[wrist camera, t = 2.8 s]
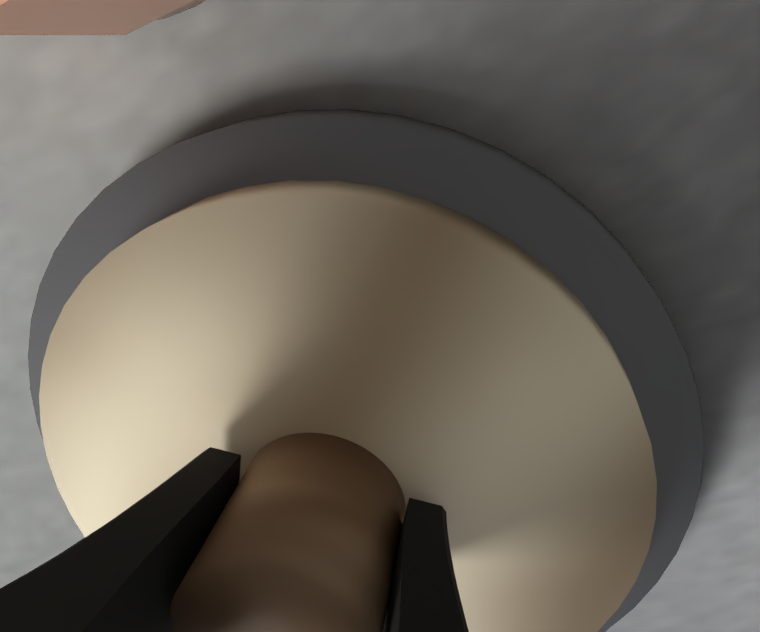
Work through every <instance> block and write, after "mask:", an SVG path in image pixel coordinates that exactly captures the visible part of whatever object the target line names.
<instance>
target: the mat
mask: <svg viewBox="0 0 760 632" xmlns="http://www.w3.org/2000/svg"><path fill="white" fill-rule="evenodd" d="M288 180H336V181H343V182H351V183H358V184H365V185H372V186H380V187H384V188H388V189H392V190H395V191H399V192H403V193H406V194H410V195H414V196H417V197H421V198H424V199H428V200H430V201H433V202H435V203H438V204H440V205H442V206H445V207H447V208H450V209H452V210H454V211H457V212H459V213H462V214H464V215H466V216H469V217H471V218H473V219H475V220H477V221H478V222H480V223H482V224H484V225H485V226H487V227H489V228H490V229H492V230H494V231H496V232H497V233H499V234H501V235H502V236H504V237H506V238H508V239H509V240H511V241H513V242H514V243H516V244H517V245H518V246H520V247H521V248H522V249H523V250H525V251H526V252H527V253H529V254H530V255H531V256H532V257H534V258H535V259H536V260H538V261H539V262H540V263H542V264H543V265H544V266H545V267H547V268H548V269H549V270H551V271H552V272H553V273H554V274H555V275H556V276H557V277H558V279H559V280H560V281H561V282H562V283H563V284H564V285H565V286H566V287H567V288H568V289H569V290H570V291H571V292H572V293H573V294H574V295H575V296H576V297H577V298H578V299H579V300H580V301H581V302H582V303H583V304H584V306H585V307H586V309H587V310H588V311H589V313H590V314H591V315H592V317H593V318H594V319H595V321H596V322H597V324H598V325H599V326H600V328H601V329H602V330H603V332H604V333H605V334H606V336H607V337H608V339H609V341H610V343H611V345H612V347H613V349H614V350H615V352H616V354H617V356H618V358H619V360H620V362H621V364H622V366H623V368H624V370H625V372H626V374H627V376H628V379H629V382H630V384H631V387H632V390H633V392H634V395H635V398H636V400H637V403H638V406H639V409H640V412H641V415H642V418H643V421H644V424H645V427H646V430H647V433H648V436H649V439H650V442H651V446H652V452H653V459H654V466H655V472H656V479H657V496H656V519H655V524H654V528H653V533H652V538H651V542H650V547H649V551H648V554H647V556H646V558H645V561H644V563H643V566H642V568H641V570H640V573H639V575H638V578H637V580H636V582H635V584H634V585H633V587H632V588H631V590H630V591H629V593H628V594H627V596H626V598H625V599H624V601H623V602H622V604H621V605H620V607H619V608H618V609H617V611H616V612H615V613H614V614H613V615H612V616H611V617H610V618H609V619H608V621H607V622H606V623H605V624H604V625H603V626H602V627H601V628H600V630H599V631H598V632H605V631H606V630H607V629H609V628H610V627H611V626H612V625H614V624H615V623H616V622H617V621H619V620H620V619H621V618H622V617H623V616H625V615H626V614H627V613H628V612H630V611H631V610H632V609H633V608H634V607H635V606H636V605H637V604H638V603H639V602H640V601H641V599H642V598H643V597H644V596H645V595H646V594H647V593H648V592H649V591H650V590H651V589H652V587H653V586H654V585H655V584H656V583H657V582H658V580H659V579H660V577H661V576H662V574H663V573H664V571H665V570H666V568H667V567H668V565H669V564H670V562H671V561H672V559H673V558H674V556H675V555H676V553H677V551H678V549H679V547H680V544H681V542H682V540H683V538H684V535H685V533H686V531H687V529H688V526H689V524H690V522H691V520H692V516H693V512H694V508H695V504H696V500H697V496H698V492H699V488H700V484H701V478H702V463H703V448H704V436H703V427H702V418H701V409H700V400H699V395H698V392H697V388H696V385H695V381H694V378H693V374H692V371H691V367H690V364H689V360H688V357H687V354H686V352H685V349H684V347H683V345H682V343H681V341H680V339H679V337H678V335H677V333H676V331H675V329H674V327H673V325H672V322H671V320H670V318H669V316H668V314H667V312H666V310H665V308H664V307H663V305H662V303H661V302H660V300H659V298H658V297H657V295H656V293H655V292H654V290H653V288H652V287H651V285H650V284H649V282H648V281H647V279H646V278H645V276H644V275H643V274H642V272H641V271H640V269H639V268H638V266H637V265H636V263H635V262H634V260H633V259H632V258H631V256H630V255H629V253H628V252H627V250H626V249H625V247H624V246H623V245H622V244H621V243H620V242H619V241H618V240H617V239H616V238H615V237H614V236H613V235H612V234H611V232H610V231H609V230H608V229H607V228H606V227H605V226H604V225H603V224H602V223H601V222H600V221H599V220H598V219H597V218H596V216H595V215H594V214H593V213H592V212H591V211H590V210H589V209H587V208H586V207H585V206H584V205H582V204H581V203H580V202H579V201H577V200H576V199H575V198H574V197H572V196H571V195H570V194H569V193H567V192H566V191H565V190H564V189H562V188H561V187H560V186H559V185H557V184H556V183H555V182H554V181H552V180H551V179H550V178H548V177H547V176H545V175H543V174H542V173H540V172H538V171H537V170H535V169H533V168H532V167H530V166H528V165H526V164H525V163H523V162H521V161H520V160H518V159H516V158H515V157H513V156H511V155H510V154H508V153H506V152H504V151H503V150H500V149H498V148H496V147H493V146H491V145H488V144H486V143H484V142H481V141H479V140H476V139H474V138H472V137H469V136H467V135H464V134H462V133H460V132H457V131H455V130H452V129H448V128H445V127H441V126H437V125H433V124H430V123H426V122H422V121H418V120H414V119H411V118H407V117H403V116H397V115H389V114H381V113H373V112H365V111H356V110H302V111H293V112H287V113H281V114H275V115H269V116H263V117H257V118H251V119H247V120H244V121H241V122H238V123H235V124H232V125H229V126H226V127H223V128H220V129H217V130H214V131H211V132H207V133H204V134H202V135H199V136H196V137H193V138H190V139H187V140H184V141H181V142H179V143H177V144H175V145H173V146H171V147H169V148H167V149H165V150H163V151H161V152H159V153H157V154H155V155H153V156H151V157H150V158H148V159H146V160H144V161H142V162H140V163H138V164H137V165H136V166H134V167H133V168H132V169H130V170H129V171H127V172H126V173H125V174H123V175H122V176H121V177H119V178H118V179H117V180H115V181H114V182H113V183H111V184H110V185H109V186H107V187H106V188H105V189H104V190H103V191H102V192H101V193H100V194H99V195H98V196H97V197H96V198H95V199H94V200H93V201H92V202H91V203H90V204H89V205H88V206H87V208H86V209H85V210H84V211H83V212H82V213H81V214H80V215H79V216H78V217H77V218H76V219H75V221H74V222H73V224H72V225H71V227H70V228H69V230H68V231H67V233H66V235H65V236H64V238H63V239H62V241H61V242H60V244H59V245H58V247H57V248H56V250H55V251H54V254H53V256H52V258H51V260H50V263H49V265H48V267H47V270H46V272H45V274H44V276H43V279H42V281H41V283H40V286H39V290H38V294H37V298H36V302H35V306H34V310H33V314H32V318H31V327H30V339H29V350H28V361H29V376H30V390H31V395H32V400H33V405H34V409H35V414H36V419H37V424H38V427H39V429H40V432H41V435H42V431H41V423H40V405H39V391H40V381H41V371H42V364H43V360H44V356H45V353H46V349H47V345H48V342H49V338H50V335H51V332H52V330H53V328H54V326H55V324H56V322H57V320H58V318H59V315H60V313H61V311H62V309H63V307H64V305H65V304H66V302H67V301H68V299H69V298H70V297H71V295H72V294H73V292H74V291H75V290H76V288H77V287H78V285H79V284H80V283H81V281H82V280H83V278H84V277H85V276H86V275H87V274H88V273H89V272H90V271H91V270H92V269H93V268H94V267H95V266H96V265H97V264H99V263H100V262H101V261H102V260H103V259H104V258H105V257H106V256H107V255H108V254H109V253H110V252H111V251H113V250H114V249H116V248H117V247H118V246H120V245H121V244H123V243H124V242H126V241H127V240H129V239H130V238H132V237H133V236H135V235H136V234H137V233H139V232H140V231H142V230H144V229H145V228H147V227H149V226H151V225H153V224H155V223H156V222H158V221H160V220H162V219H164V218H165V217H167V216H169V215H171V214H173V213H175V212H177V211H179V210H181V209H184V208H186V207H188V206H190V205H192V204H194V203H196V202H199V201H201V200H203V199H205V198H207V197H211V196H214V195H218V194H221V193H225V192H228V191H231V190H235V189H238V188H242V187H245V186H251V185H258V184H266V183H273V182H280V181H288ZM42 438H43V436H42Z"/></svg>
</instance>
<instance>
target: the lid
mask: <svg viewBox="0 0 760 632" xmlns="http://www.w3.org/2000/svg"><path fill="white" fill-rule="evenodd" d="M39 405H40V423H41V431H42V436H43V441H44V445H45V450H46V455H47V459H48V462H49V465H50V468H51V471H52V473H53V476H54V479H55V482H56V485H57V487H58V490H59V492H60V494H61V496H62V498H63V500H64V502H65V504H66V506H67V508H68V510H69V512H70V514H71V516H72V517H73V519H74V521H75V522H76V524H77V525H78V527H79V528H80V530H81V532H82V533H83V535H84V536H85V537H87V536H88V535H90V534H91V533H93V532H94V531H96V530H97V529H99V528H100V527H102V526H103V525H105V524H106V523H108V522H109V521H111V520H112V519H114V518H115V517H116V516H118V515H119V514H121V513H122V512H123V511H125V510H126V509H128V508H129V507H130V506H132V505H133V504H135V503H136V502H137V501H139V500H140V499H142V498H143V497H144V496H146V495H147V494H149V493H150V492H151V491H153V490H154V489H155V488H157V487H158V486H159V485H161V484H162V483H163V482H165V481H166V480H167V479H168V478H170V477H171V476H172V475H174V474H175V473H176V472H178V471H179V470H180V469H181V468H183V467H184V466H185V465H187V464H188V463H189V462H190V461H192V460H193V459H194V458H196V457H197V456H198V455H199V454H201V453H202V452H203V451H205V450H206V449H208V448H210V447H212V448H216V449H220V450H224V451H228V452H232V453H236V454H240V455H241V464H240V480H239V484H238V485H237V487H236V489H235V491H234V492H233V494H232V496H231V498H230V499H229V501H228V503H227V504H226V506H225V508H224V510H223V511H222V513H221V515H220V517H219V518H218V520H217V522H216V523H215V525H214V527H213V529H212V530H211V532H210V534H209V535H208V537H207V539H206V541H205V542H204V544H203V546H202V548H201V549H200V551H199V553H198V554H197V556H196V558H195V560H194V561H193V563H192V565H191V567H190V568H189V570H188V572H187V573H186V575H185V577H184V579H183V580H182V582H181V584H180V585H179V587H178V589H177V591H176V593H175V594H174V597H173V600H172V603H171V612H170V613H171V623H172V626H173V630H174V632H383V628H384V623H385V618H386V613H387V607H388V602H389V597H390V591H391V585H392V579H393V571H394V566H395V561H396V556H397V551H398V546H399V540H400V535H401V530H402V525H403V521H404V517H405V513H406V509H407V505H408V501H409V498H413V499H417V500H421V501H425V502H429V503H433V504H437V505H441V506H442V507H443V508H444V509H445V511H446V514H447V529H448V538H449V545H450V551H451V557H452V562H453V568H454V573H455V578H456V582H457V587H458V591H459V595H460V599H461V603H462V607H463V611H464V615H465V619H466V623H467V627H468V630H469V632H598V631H599V630H600V628H601V627H602V626H603V625H604V624H605V623H606V622H607V621H608V619H609V618H610V617H611V616H612V615H613V614H614V613H615V612H616V611H617V609H618V608H619V607H620V605H621V604H622V602H623V601H624V599H625V598H626V596H627V594H628V593H629V591H630V590H631V588H632V587H633V585H634V584H635V582H636V580H637V578H638V575H639V573H640V570H641V568H642V566H643V563H644V561H645V558H646V556H647V554H648V551H649V547H650V542H651V538H652V533H653V528H654V524H655V519H656V496H657V479H656V472H655V466H654V459H653V452H652V446H651V442H650V439H649V436H648V433H647V430H646V427H645V424H644V421H643V418H642V415H641V412H640V409H639V406H638V403H637V400H636V398H635V395H634V392H633V390H632V387H631V384H630V382H629V379H628V376H627V374H626V372H625V370H624V368H623V366H622V364H621V362H620V360H619V358H618V356H617V354H616V352H615V350H614V349H613V347H612V345H611V343H610V341H609V339H608V337H607V336H606V334H605V333H604V332H603V330H602V329H601V328H600V326H599V325H598V324H597V322H596V321H595V319H594V318H593V317H592V315H591V314H590V313H589V311H588V310H587V309H586V307H585V306H584V304H583V303H582V302H581V301H580V300H579V299H578V298H577V297H576V296H575V295H574V294H573V293H572V292H571V291H570V290H569V289H568V288H567V287H566V286H565V285H564V284H563V283H562V282H561V281H560V280H559V279H558V277H557V276H556V275H555V274H554V273H553V272H552V271H551V270H549V269H548V268H547V267H545V266H544V265H543V264H542V263H540V262H539V261H538V260H536V259H535V258H534V257H532V256H531V255H530V254H529V253H527V252H526V251H525V250H523V249H522V248H521V247H520V246H518V245H517V244H516V243H514V242H513V241H511V240H509V239H508V238H506V237H504V236H502V235H501V234H499V233H497V232H496V231H494V230H492V229H490V228H489V227H487V226H485V225H484V224H482V223H480V222H478V221H477V220H475V219H473V218H471V217H469V216H466V215H464V214H462V213H459V212H457V211H454V210H452V209H450V208H447V207H445V206H442V205H440V204H438V203H435V202H433V201H430V200H428V199H424V198H421V197H417V196H414V195H410V194H406V193H403V192H399V191H395V190H392V189H388V188H384V187H380V186H372V185H365V184H358V183H351V182H343V181H336V180H288V181H280V182H273V183H266V184H258V185H251V186H245V187H242V188H238V189H235V190H231V191H228V192H225V193H221V194H218V195H214V196H211V197H207V198H205V199H203V200H201V201H199V202H196V203H194V204H192V205H190V206H188V207H186V208H184V209H181V210H179V211H177V212H175V213H173V214H171V215H169V216H167V217H165V218H164V219H162V220H160V221H158V222H156V223H155V224H153V225H151V226H149V227H147V228H145V229H144V230H142V231H140V232H139V233H137V234H136V235H135V236H133V237H132V238H130V239H129V240H127V241H126V242H124V243H123V244H121V245H120V246H118V247H117V248H116V249H114V250H113V251H111V252H110V253H109V254H108V255H107V256H106V257H105V258H104V259H103V260H102V261H101V262H100V263H99V264H97V265H96V266H95V267H94V268H93V269H92V270H91V271H90V272H89V273H88V274H87V275H86V276H85V277H84V278H83V280H82V281H81V283H80V284H79V285H78V287H77V288H76V290H75V291H74V292H73V294H72V295H71V297H70V298H69V299H68V301H67V302H66V304H65V305H64V307H63V309H62V311H61V313H60V315H59V318H58V320H57V322H56V324H55V326H54V328H53V330H52V332H51V335H50V338H49V342H48V345H47V349H46V353H45V356H44V360H43V364H42V371H41V381H40V391H39Z"/></svg>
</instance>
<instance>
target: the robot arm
mask: <svg viewBox="0 0 760 632" xmlns="http://www.w3.org/2000/svg"><path fill="white" fill-rule="evenodd" d="M240 464H241V455H240V454H236V453H232V452H228V451H224V450H220V449H216V448H212V447H210V448H208V449H206V450H205V451H203V452H202V453H201V454H199V455H198V456H197V457H196V458H194V459H193V460H192V461H190V462H189V463H188V464H187V465H185V466H184V467H183V468H181V469H180V470H179V471H178V472H176V473H175V474H174V475H172V476H171V477H170V478H168V479H167V480H166V481H165V482H163V483H162V484H161V485H159V486H158V487H157V488H155V489H154V490H153V491H151V492H150V493H149V494H147V495H146V496H144V497H143V498H142V499H140V500H139V501H137V502H136V503H135V504H133V505H132V506H130V507H129V508H128V509H126V510H125V511H123V512H122V513H121V514H119V515H118V516H116V517H115V518H114V519H112V520H111V521H109V522H108V523H106V524H105V525H103V526H102V527H100V528H99V529H97V530H96V531H94V532H93V533H91V534H90V535H88V536H87V537H85V538H83V539H82V540H80V541H79V542H77V543H76V544H74V545H73V546H71V547H70V548H68V549H67V550H65V551H64V552H62V553H60V554H59V555H57V556H55V557H54V558H52V559H51V560H49V561H47V562H46V563H44V564H42V565H41V566H39V567H37V568H36V569H34V570H32V571H30V572H29V573H27V574H25V575H23V576H22V577H20V578H18V579H16V580H15V581H13V582H11V583H9V584H7V585H6V586H4V587H2V588H0V632H174V630H173V626H172V623H171V613H170V612H171V603H172V600H173V597H174V594H175V593H176V591H177V589H178V587H179V585H180V584H181V582H182V580H183V579H184V577H185V575H186V573H187V572H188V570H189V568H190V567H191V565H192V563H193V561H194V560H195V558H196V556H197V554H198V553H199V551H200V549H201V548H202V546H203V544H204V542H205V541H206V539H207V537H208V535H209V534H210V532H211V530H212V529H213V527H214V525H215V523H216V522H217V520H218V518H219V517H220V515H221V513H222V511H223V510H224V508H225V506H226V504H227V503H228V501H229V499H230V498H231V496H232V494H233V492H234V491H235V489H236V487H237V485H238V484H239V480H240ZM383 632H469V630H468V627H467V623H466V619H465V615H464V611H463V607H462V603H461V599H460V595H459V591H458V587H457V582H456V578H455V573H454V568H453V562H452V557H451V551H450V545H449V538H448V529H447V514H446V511H445V509H444V508H443V507H442V506H441V505H437V504H433V503H429V502H425V501H421V500H417V499H413V498H409V501H408V505H407V509H406V513H405V517H404V521H403V525H402V530H401V535H400V540H399V546H398V551H397V556H396V561H395V566H394V571H393V579H392V585H391V591H390V597H389V602H388V607H387V613H386V618H385V623H384V628H383Z"/></svg>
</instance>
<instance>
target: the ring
mask: <svg viewBox="0 0 760 632" xmlns="http://www.w3.org/2000/svg"><path fill="white" fill-rule="evenodd" d="M203 1H205V0H0V35H126V34H128V33H130V32H132V31H134V30H136V29H138V28H140V27H142V26H144V25H146V24H148V23H150V22H152V21H154V20H159V19H164V18H167V17H170V16H172V15H175V14H177V13H180V12H182V11H185V10H187V9H190V8H192V7H195V6H197V5H198V4H200V3H202V2H203Z"/></svg>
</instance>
